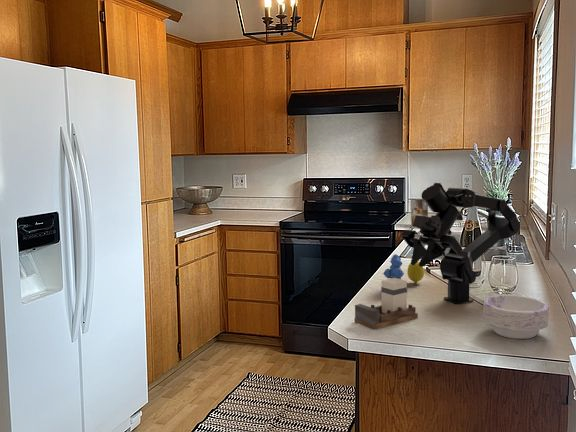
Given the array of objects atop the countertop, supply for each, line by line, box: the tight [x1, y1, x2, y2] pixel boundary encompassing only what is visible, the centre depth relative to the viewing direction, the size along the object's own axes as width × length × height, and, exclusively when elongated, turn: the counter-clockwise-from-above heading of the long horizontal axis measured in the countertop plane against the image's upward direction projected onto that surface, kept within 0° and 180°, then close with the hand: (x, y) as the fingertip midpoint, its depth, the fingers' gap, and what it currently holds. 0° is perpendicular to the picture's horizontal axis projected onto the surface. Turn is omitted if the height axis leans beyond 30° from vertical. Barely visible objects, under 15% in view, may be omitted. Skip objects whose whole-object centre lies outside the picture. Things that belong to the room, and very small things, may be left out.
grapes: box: [382, 253, 405, 280], centre depth 184 cm, size 12×7×12 cm, turn 176°
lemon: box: [407, 261, 425, 284], centre depth 193 cm, size 6×6×8 cm
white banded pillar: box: [380, 278, 408, 314], centre depth 156 cm, size 5×5×9 cm
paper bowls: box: [482, 294, 550, 340], centre depth 141 cm, size 15×15×8 cm
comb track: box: [353, 301, 419, 331], centre depth 154 cm, size 16×8×5 cm, turn 124°
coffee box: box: [410, 198, 429, 229], centre depth 318 cm, size 9×6×16 cm
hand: (415, 265), depth 159 cm, fingers open, 3 cm apart
